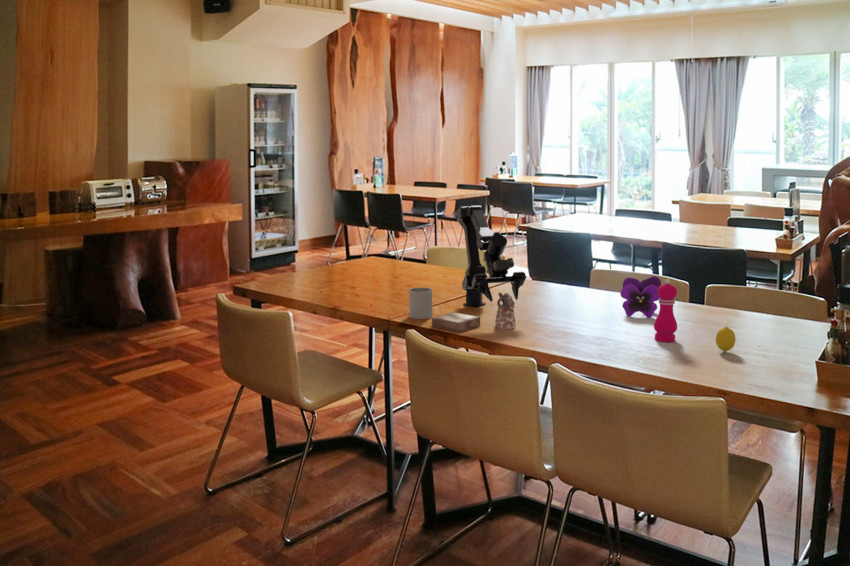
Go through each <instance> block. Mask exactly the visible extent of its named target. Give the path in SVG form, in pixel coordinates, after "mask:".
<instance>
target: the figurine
mask: <svg viewBox="0 0 850 566" xmlns="http://www.w3.org/2000/svg"><path fill="white" fill-rule="evenodd" d="M497 295H498V296H499V297H498V299H497V311H496V315H495V322H494V325H495V327H496V328H497V329H499V330H500V329H501V330H514V329H516V327H517V325H516V318H515V311H514V308H515V301H514V300H513V297H512V295H510V294H509V293H508V292H505V293H503V294H502V292H501V291H500V292H498V294H497ZM500 302H502V304H501V303H500Z"/></svg>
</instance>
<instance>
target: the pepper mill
mask: <svg viewBox="0 0 850 566" xmlns="http://www.w3.org/2000/svg"><path fill="white" fill-rule="evenodd" d="M657 293H658V296H659V297H660V298H659V300H658V304H659V311H658V314H657V316H656V318H655V320H654V323H653V329H654V331H655V332H656V333H654V340H655V341H656V342H661V343H672V342H673V343H674V342H675V341H676V335H675V333H676V331H677V330H678V324H677V319H676V317H675V314H674V305H675V304H676V302H675V301H676V299H675V298H676V297H677V295H678V289H677V287H676V286H675V285H674V284H672V283H671V280H670V279H669V278H667V279H665V280H664V283H661V286H659V288H658V291H657Z"/></svg>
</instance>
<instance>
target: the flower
mask: <svg viewBox="0 0 850 566" xmlns="http://www.w3.org/2000/svg"><path fill="white" fill-rule="evenodd" d="M661 285H662V281H661V279H660V278H659V277H658V276H653V275H652V276H651V277H649V278H647V279H646V278H645V279H643V280H641V281H640V280H638V279H637V278H633V277H626V278H625V279H624V280H623V281H622V289H621V291H620V297H621V298H622V299H625V301H623V303H622V305H621V306H622V308H623V310H624V312H625V315H626V316H628V317H631V316H633V315H634V314H635V313H638V312H640V313H642V314H643V315H644V317H646V318H647V319H648V318H649V319H650V318H652V317H653V315H654V313H655V311H657V309H658V305H657V303H655V302H659V298H660V297H659V296H658V293H657V291H658V288H659V286H661Z"/></svg>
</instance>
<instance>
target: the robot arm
mask: <svg viewBox="0 0 850 566" xmlns="http://www.w3.org/2000/svg"><path fill="white" fill-rule="evenodd" d="M456 210H457V211H456V217H457V219H458V223H459V225H460V226H461V228H462V229H463V231H464V240H465V247H466V255H467V268H466V270H465V271H464V277H463V280H462V283H461V288H462V289H463V291H465V292H466V294H465V302H464V303H463V306H467V307H468V306H469V307H474V308H476V307H477V308H478V307H480V306H484V305H486V302H483V295H484V297H486V298H487V299H488V301H489V302H493V296H492V295H493V294H492V292H491V289H490V287H489V284H494V283H495V284H503V283H510V285H511V289H512V294H513V297H514V299H515V301H518V299H519V290H520V288H521V287H522V286H523V285H524V284H525V281H526V279H527V276H526V272H524V271H513V273H512V275H511V276H509V275H508V273H509V271H508V270H510V269H512V268H513V267H515V262H514V261H515V260H514V259H513V258H512V257H508V258H506V259H502V258H501V256H502V255H503V253H504V250H505V249H506V246H507V244H508V239H507V237H505V235H503V234H500V232H499V231H494V230H492V229H491V228H490V226H489V225H488V223H487V220H486V218H485V215H484V213H483V207H482V205H467V206H466V205H463V206H462V205H461V206H459V208H458V209H456ZM480 251H482V252H483V251H484V252H483V261H484V263H485V265H486V266H484V265H482V263H481V259H480ZM486 268H487V269H486ZM507 275H508V276H507ZM488 276H489V277H488Z"/></svg>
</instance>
